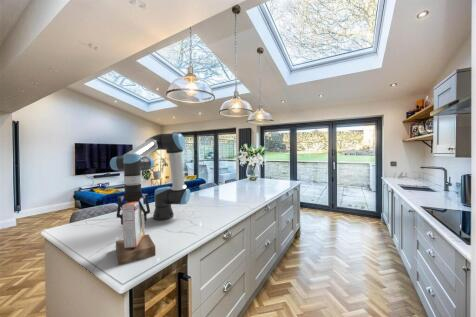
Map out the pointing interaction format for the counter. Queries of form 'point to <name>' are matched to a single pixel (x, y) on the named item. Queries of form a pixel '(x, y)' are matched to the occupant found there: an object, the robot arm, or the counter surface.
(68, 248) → the counter surface
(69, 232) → the counter surface
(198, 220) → the counter surface
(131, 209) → the cracker box
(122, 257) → the walnut plinth block
